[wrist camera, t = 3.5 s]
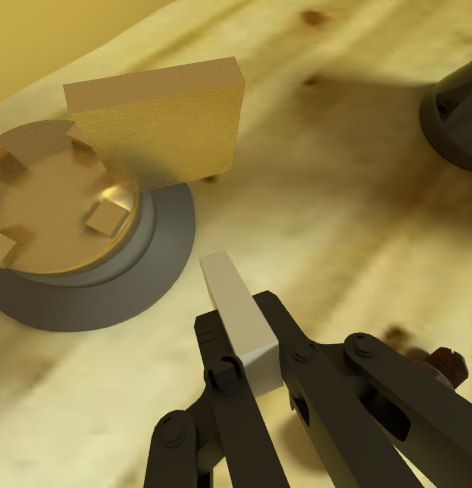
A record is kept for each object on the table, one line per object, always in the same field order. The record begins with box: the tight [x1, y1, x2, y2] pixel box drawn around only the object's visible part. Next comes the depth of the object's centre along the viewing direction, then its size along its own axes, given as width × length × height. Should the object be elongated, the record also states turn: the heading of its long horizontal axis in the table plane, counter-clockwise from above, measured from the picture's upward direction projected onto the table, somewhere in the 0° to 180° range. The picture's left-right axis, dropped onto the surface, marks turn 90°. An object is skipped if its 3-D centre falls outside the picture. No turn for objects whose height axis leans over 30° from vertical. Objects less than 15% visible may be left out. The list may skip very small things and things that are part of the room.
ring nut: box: [0, 57, 245, 277], centre depth 19 cm, size 22×13×11 cm, turn 109°
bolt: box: [392, 347, 469, 445], centre depth 25 cm, size 6×5×15 cm
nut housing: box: [0, 182, 195, 332], centre depth 26 cm, size 22×22×5 cm
